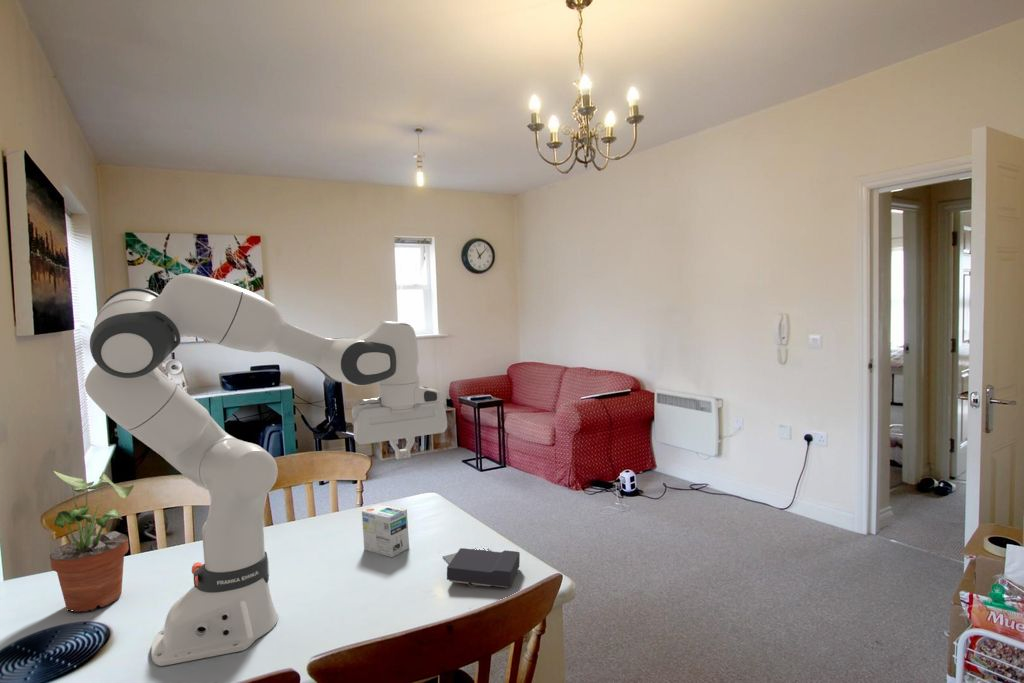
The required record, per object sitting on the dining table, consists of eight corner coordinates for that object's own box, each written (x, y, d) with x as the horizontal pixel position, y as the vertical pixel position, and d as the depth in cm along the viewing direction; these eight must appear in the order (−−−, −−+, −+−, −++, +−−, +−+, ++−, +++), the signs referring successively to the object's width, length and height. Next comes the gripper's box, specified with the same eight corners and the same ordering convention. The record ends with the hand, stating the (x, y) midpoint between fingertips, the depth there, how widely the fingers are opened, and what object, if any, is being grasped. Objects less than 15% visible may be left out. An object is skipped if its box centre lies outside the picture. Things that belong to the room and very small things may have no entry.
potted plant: (85, 625, 119) (70, 461, 117) (38, 614, 124) (23, 457, 122) (155, 589, 134) (143, 443, 131) (110, 581, 139) (98, 440, 137)
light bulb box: (410, 548, 151) (408, 508, 151) (392, 558, 146) (390, 517, 145) (381, 540, 157) (379, 502, 156) (362, 550, 151) (360, 510, 151)
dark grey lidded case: (446, 583, 130) (510, 590, 127) (446, 564, 129) (510, 572, 126) (460, 562, 140) (519, 569, 137) (460, 545, 140) (520, 551, 137)
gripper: (354, 402, 116) (358, 469, 117) (448, 392, 125) (451, 453, 126) (348, 398, 122) (351, 462, 123) (438, 389, 131) (441, 448, 132)
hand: (403, 458), depth 125 cm, fingers closed
